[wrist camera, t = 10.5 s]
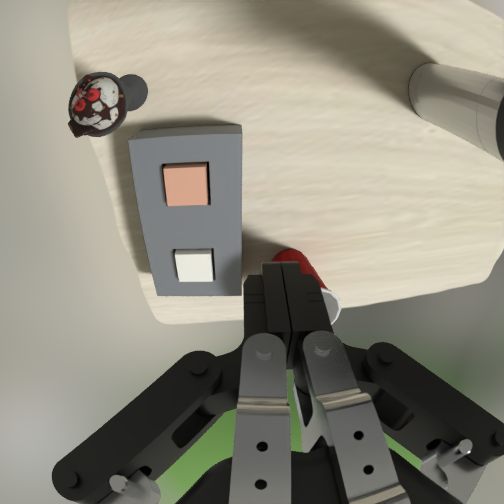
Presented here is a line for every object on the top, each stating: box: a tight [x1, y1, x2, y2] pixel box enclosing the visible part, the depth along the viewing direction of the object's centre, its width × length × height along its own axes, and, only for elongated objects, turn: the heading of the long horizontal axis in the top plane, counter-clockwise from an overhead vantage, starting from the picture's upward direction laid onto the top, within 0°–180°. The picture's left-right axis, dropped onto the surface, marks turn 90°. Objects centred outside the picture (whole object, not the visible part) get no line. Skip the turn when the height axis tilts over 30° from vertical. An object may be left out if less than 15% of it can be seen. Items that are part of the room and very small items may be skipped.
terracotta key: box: [163, 161, 210, 206], centre depth 35 cm, size 5×5×4 cm
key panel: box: [128, 125, 242, 296], centre depth 39 cm, size 13×24×5 cm, turn 179°
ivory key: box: [175, 248, 214, 282], centre depth 42 cm, size 5×5×4 cm
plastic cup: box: [272, 250, 341, 325], centre depth 43 cm, size 11×11×12 cm
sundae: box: [68, 72, 148, 138], centre depth 25 cm, size 7×7×15 cm
